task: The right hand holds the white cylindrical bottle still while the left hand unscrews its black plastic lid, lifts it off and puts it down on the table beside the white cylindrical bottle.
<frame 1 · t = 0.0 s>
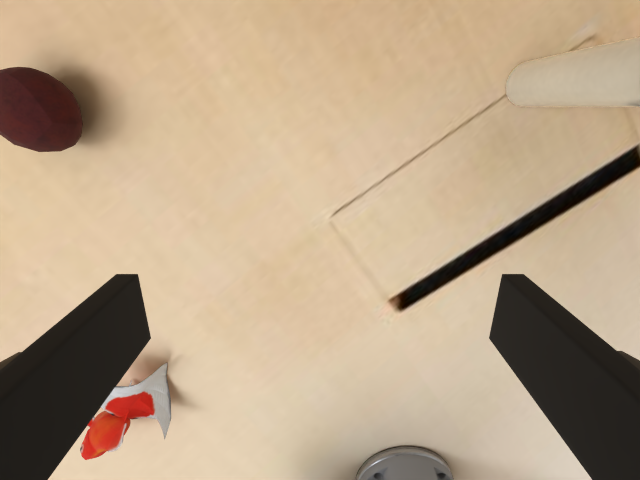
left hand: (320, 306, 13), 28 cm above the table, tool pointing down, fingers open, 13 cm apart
dark red ball: (63, 112, 37), on the table
fish: (138, 386, 50), on the table
white cylindrical bottle: (526, 84, 36), on the table
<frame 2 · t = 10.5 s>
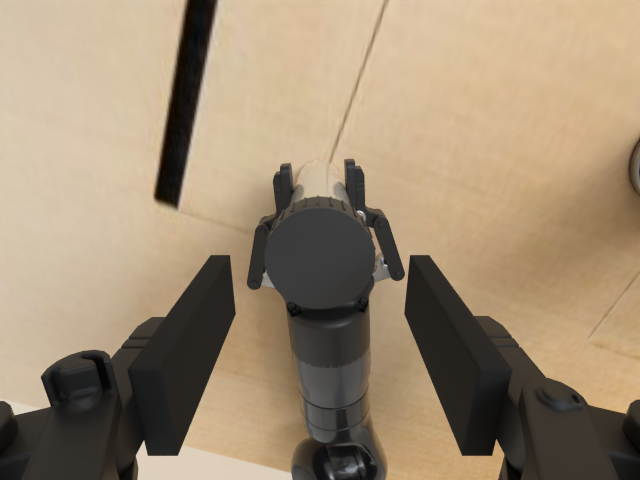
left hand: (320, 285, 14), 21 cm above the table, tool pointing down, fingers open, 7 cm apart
lid: (320, 258, 17), point 19 cm above the table, screwed on, not yet turned
white cylindrical bottle: (319, 181, 34), on the table, touching right hand
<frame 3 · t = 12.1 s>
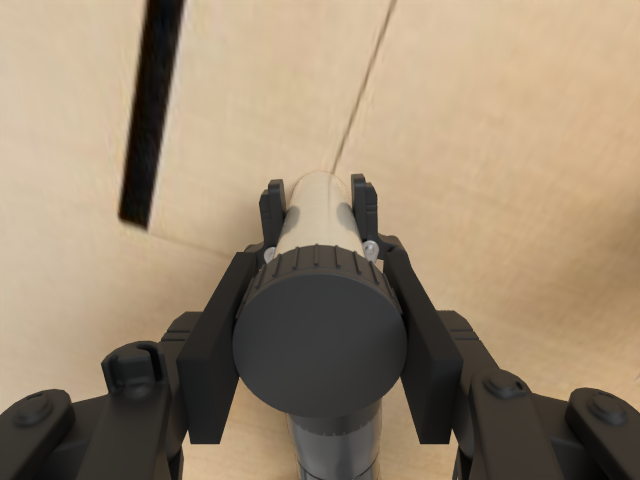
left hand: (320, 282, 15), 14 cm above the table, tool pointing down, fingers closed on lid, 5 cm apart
lid: (319, 345, 11), point 19 cm above the table, screwed on, not yet turned, touching left hand
white cylindrical bottle: (319, 198, 28), on the table, touching right hand
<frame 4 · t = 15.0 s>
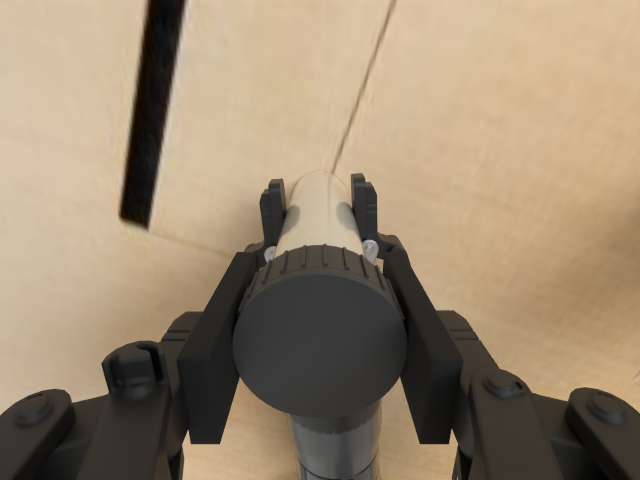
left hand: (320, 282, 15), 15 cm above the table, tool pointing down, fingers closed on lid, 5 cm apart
lid: (319, 345, 11), point 19 cm above the table, turned 64° so far, risen 0.1 cm, still on its thread, touching left hand
white cylindrical bottle: (319, 197, 28), on the table, touching right hand
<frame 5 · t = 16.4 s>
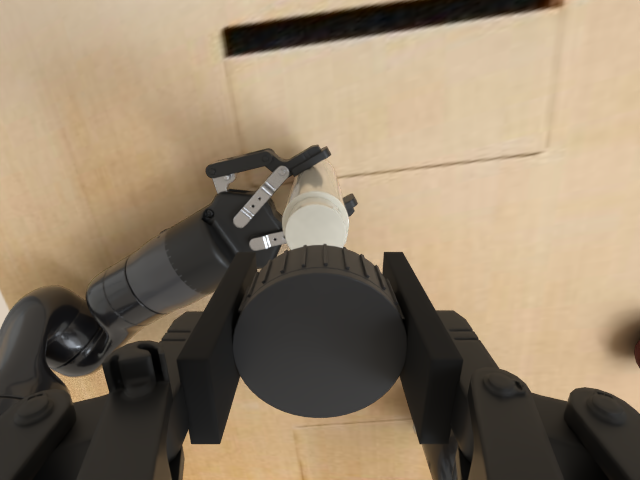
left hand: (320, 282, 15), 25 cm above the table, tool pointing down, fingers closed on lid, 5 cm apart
lid: (320, 344, 11), point 29 cm above the table, off its thread, touching left hand
white cylindrical bottle: (315, 177, 38), on the table, touching right hand
when the left hand's fingers open (0 cm above the table, at t = 22.0 s): lid drops 2 cm, point 2 cm above the table.
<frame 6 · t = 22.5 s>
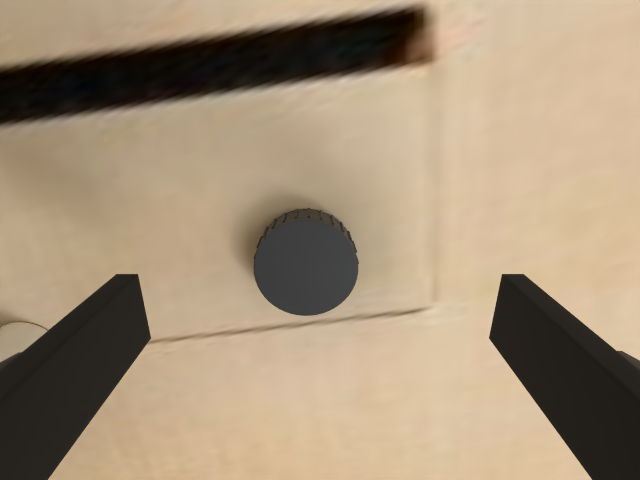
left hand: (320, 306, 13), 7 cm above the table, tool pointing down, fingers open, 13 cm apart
lid: (306, 267, 18), point 2 cm above the table, off its thread
white cylindrical bottle: (29, 352, 22), on the table, touching right hand
when the right hand's fingers open (6 cm above the table, at t = 22.7 s): white cylindrical bottle stays where it is, on the table.
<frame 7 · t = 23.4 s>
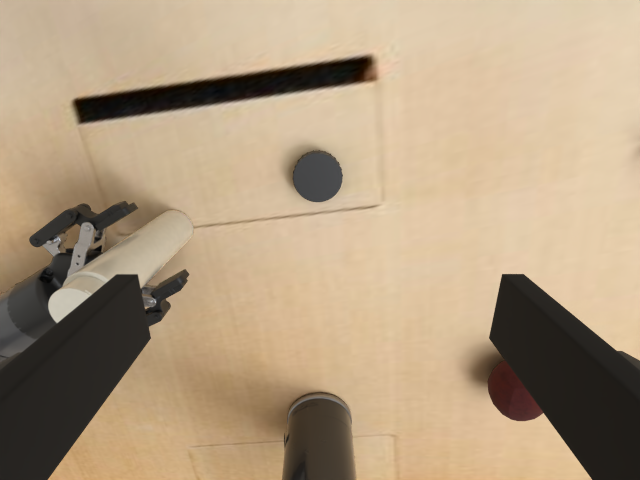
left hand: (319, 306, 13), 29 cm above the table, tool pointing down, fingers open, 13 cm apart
lid: (317, 177, 38), point 2 cm above the table, off its thread
dark red ball: (504, 368, 50), on the table
white cylindrical bottle: (175, 227, 42), on the table
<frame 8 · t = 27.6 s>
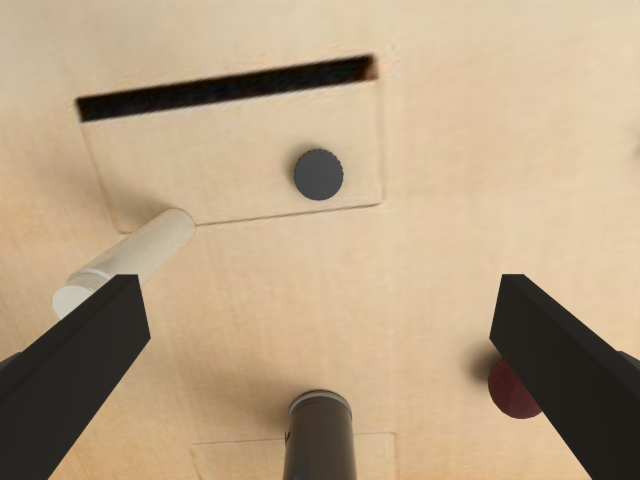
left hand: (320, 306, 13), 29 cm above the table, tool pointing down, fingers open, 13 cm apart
lid: (318, 176, 38), point 2 cm above the table, off its thread
dark red ball: (504, 367, 50), on the table
white cylindrical bottle: (177, 225, 42), on the table
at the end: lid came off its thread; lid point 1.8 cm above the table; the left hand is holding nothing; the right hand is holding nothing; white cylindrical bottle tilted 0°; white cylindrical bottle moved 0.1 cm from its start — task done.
